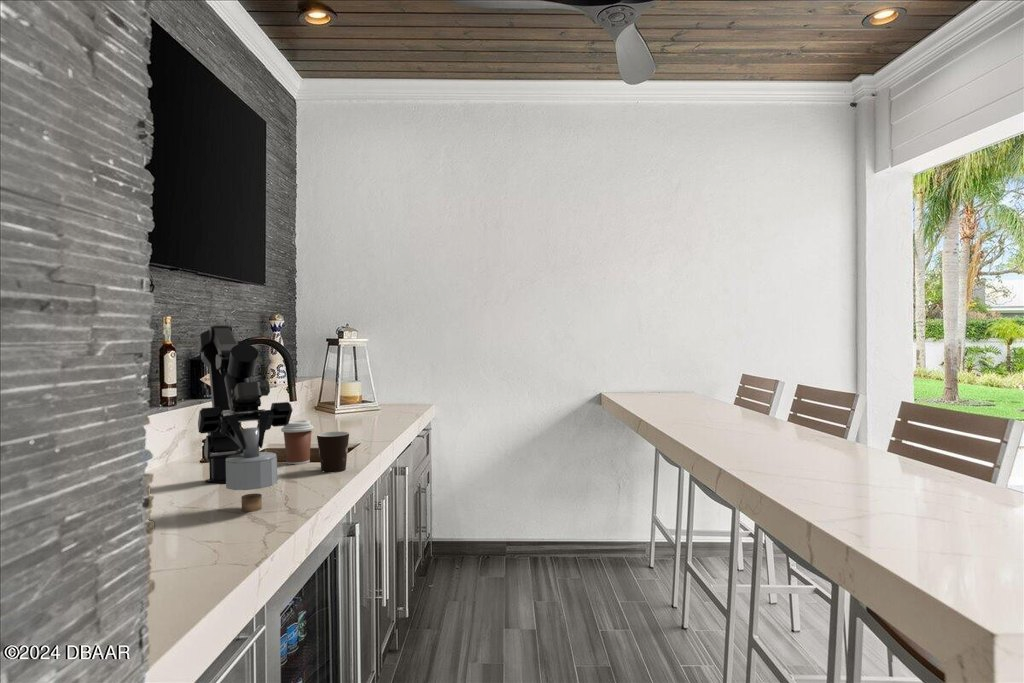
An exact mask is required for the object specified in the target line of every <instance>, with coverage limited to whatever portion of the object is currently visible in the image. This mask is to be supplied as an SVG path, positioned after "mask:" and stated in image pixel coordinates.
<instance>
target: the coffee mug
mask: <svg viewBox="0 0 1024 683" xmlns="http://www.w3.org/2000/svg"><path fill="white" fill-rule="evenodd" d="M349 438H350V432H348V431H325V432H320V433H317V434H316V439H317V448H318V453H319V461H320V467H321V468H320V469H321V472H322V471H324V472H323V473H326V472H334V473H340V472H344V471H346V470H347V469H346V468H347V460H348V450H349V449H348V448H349V440H350V439H349Z"/></svg>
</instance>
